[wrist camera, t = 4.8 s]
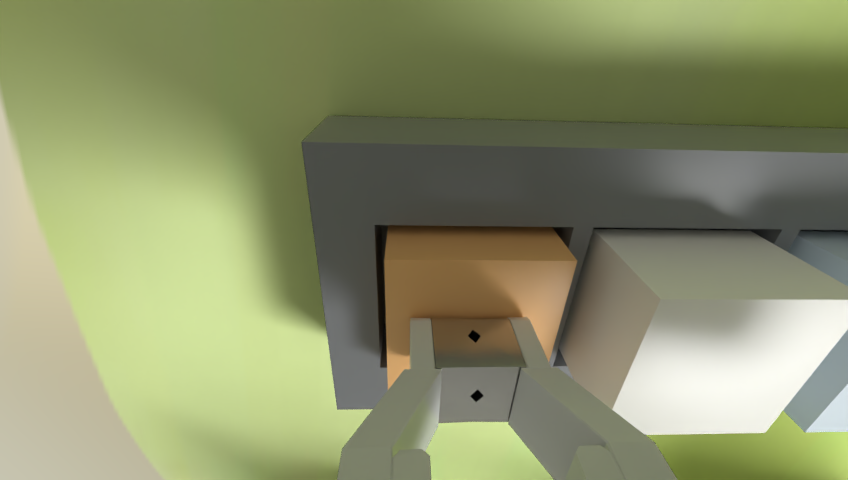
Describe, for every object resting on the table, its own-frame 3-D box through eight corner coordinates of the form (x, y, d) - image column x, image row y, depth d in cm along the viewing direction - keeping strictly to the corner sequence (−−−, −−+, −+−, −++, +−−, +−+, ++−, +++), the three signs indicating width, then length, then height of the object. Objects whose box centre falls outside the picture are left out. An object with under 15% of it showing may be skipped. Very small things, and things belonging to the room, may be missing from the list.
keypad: (942, 130, 11) (1102, 158, 9) (791, 341, 16) (867, 402, 13) (328, 115, 10) (301, 141, 8) (349, 343, 15) (337, 409, 12)
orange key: (537, 207, 11) (577, 260, 8) (514, 319, 13) (541, 390, 10) (390, 205, 11) (384, 259, 8) (392, 319, 13) (387, 391, 10)
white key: (749, 230, 10) (871, 299, 7) (688, 347, 12) (765, 432, 9) (593, 228, 10) (660, 299, 7) (558, 347, 12) (601, 435, 9)
